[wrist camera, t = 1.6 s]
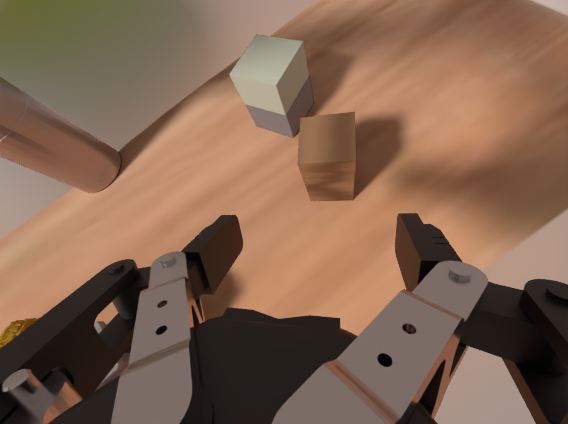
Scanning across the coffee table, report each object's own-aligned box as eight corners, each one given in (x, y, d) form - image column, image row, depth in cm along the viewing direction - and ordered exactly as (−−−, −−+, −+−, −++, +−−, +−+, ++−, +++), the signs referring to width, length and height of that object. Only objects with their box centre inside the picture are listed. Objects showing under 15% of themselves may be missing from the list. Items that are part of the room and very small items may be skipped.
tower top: (244, 103, 35) (229, 74, 30) (267, 67, 36) (256, 34, 32) (285, 115, 32) (275, 85, 28) (308, 76, 34) (303, 41, 29)
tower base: (256, 126, 39) (245, 104, 35) (277, 93, 41) (268, 67, 36) (293, 138, 37) (286, 116, 32) (314, 103, 38) (309, 76, 34)
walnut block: (311, 201, 33) (297, 163, 24) (312, 165, 34) (300, 117, 25) (353, 200, 31) (356, 160, 22) (352, 163, 33) (354, 111, 24)
